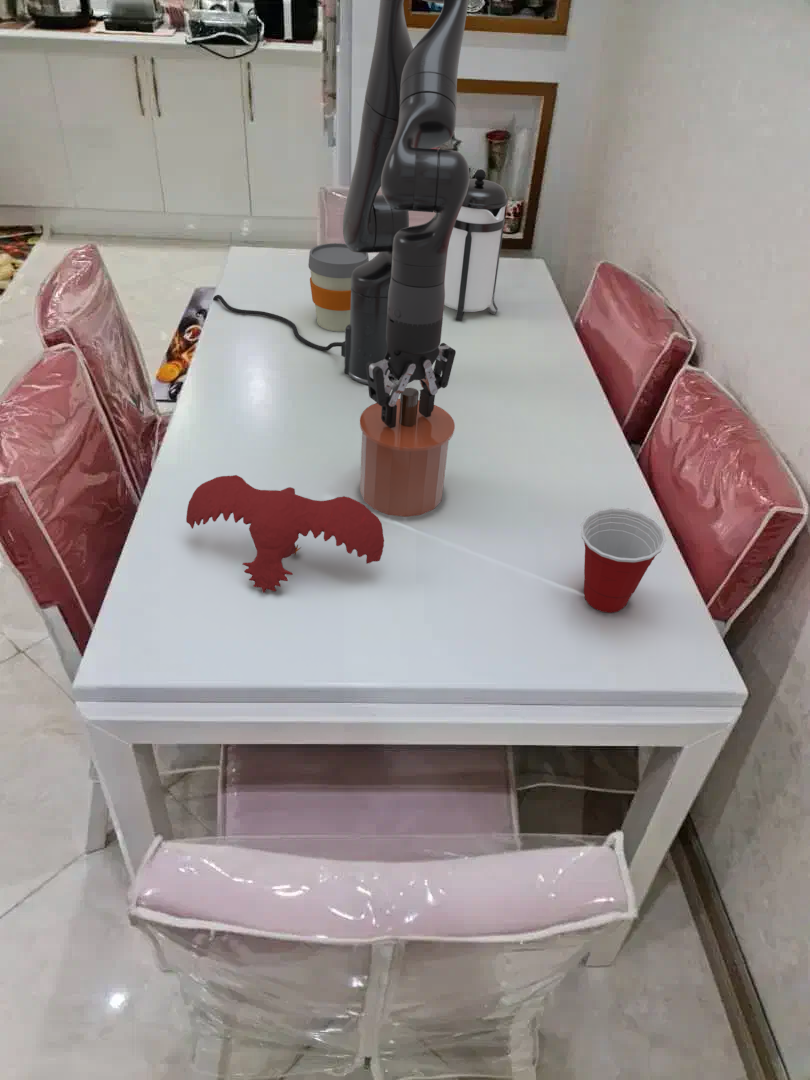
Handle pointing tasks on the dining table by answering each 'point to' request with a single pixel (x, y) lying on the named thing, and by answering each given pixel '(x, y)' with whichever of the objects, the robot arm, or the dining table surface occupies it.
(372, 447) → the pot
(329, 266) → the reusable coffee cup
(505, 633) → the dining table surface
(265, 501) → the decorative bird sculpture
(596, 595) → the plastic cup
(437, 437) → the lid
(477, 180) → the coffee press
